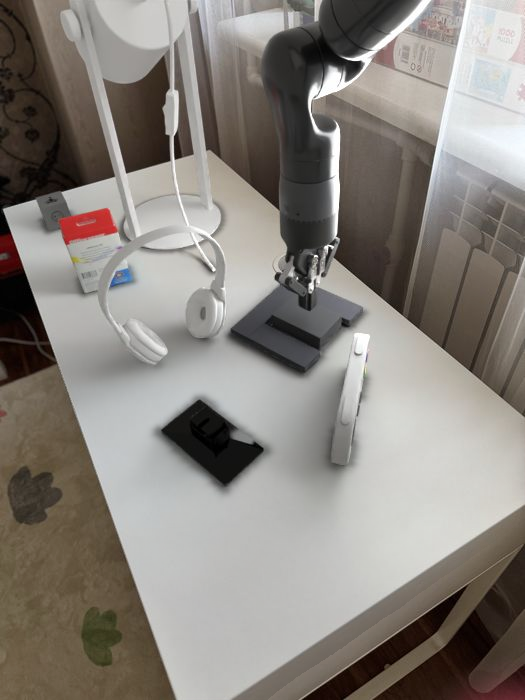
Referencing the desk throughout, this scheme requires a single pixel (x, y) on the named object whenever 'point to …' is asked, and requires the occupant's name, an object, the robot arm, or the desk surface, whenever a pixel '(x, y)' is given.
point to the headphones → (201, 308)
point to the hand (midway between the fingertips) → (307, 306)
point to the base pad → (281, 344)
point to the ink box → (93, 247)
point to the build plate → (212, 442)
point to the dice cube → (53, 209)
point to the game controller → (350, 400)
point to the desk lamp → (134, 64)
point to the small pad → (306, 322)
